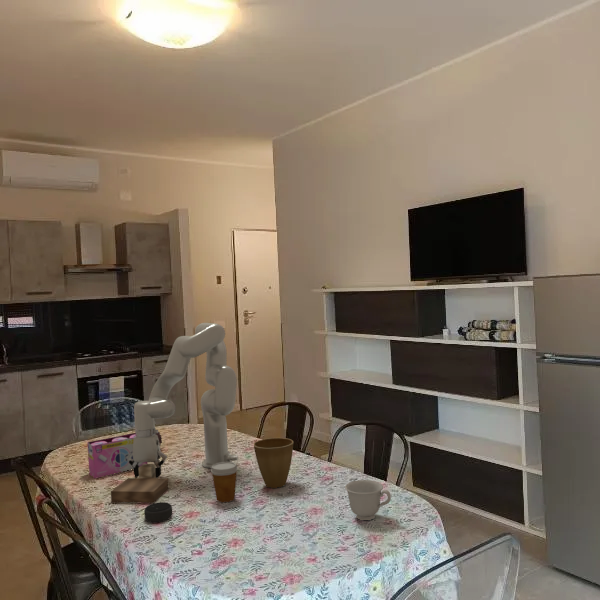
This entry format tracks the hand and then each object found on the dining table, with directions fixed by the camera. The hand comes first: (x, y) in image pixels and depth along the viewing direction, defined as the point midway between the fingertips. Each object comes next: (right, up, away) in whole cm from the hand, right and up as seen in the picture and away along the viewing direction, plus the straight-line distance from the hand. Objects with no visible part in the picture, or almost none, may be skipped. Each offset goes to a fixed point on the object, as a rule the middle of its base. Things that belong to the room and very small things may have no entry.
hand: (147, 476), depth 233 cm
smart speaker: (+14, -2, -38) cm, 41 cm away
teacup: (+82, +1, -47) cm, 94 cm away
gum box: (-16, -2, +15) cm, 22 cm away
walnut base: (+2, -2, -16) cm, 17 cm away
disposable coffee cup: (+34, -1, -24) cm, 42 cm away
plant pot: (+51, 0, -12) cm, 52 cm away
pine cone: (-10, -1, +45) cm, 46 cm away
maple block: (0, -2, 0) cm, 2 cm away
